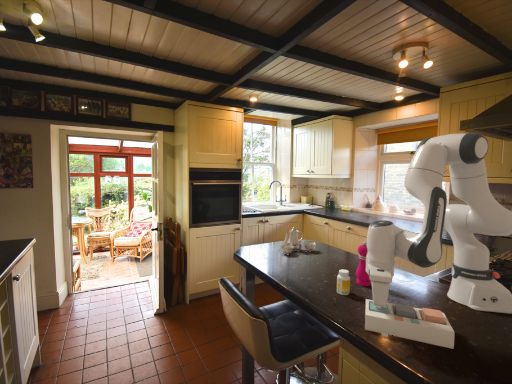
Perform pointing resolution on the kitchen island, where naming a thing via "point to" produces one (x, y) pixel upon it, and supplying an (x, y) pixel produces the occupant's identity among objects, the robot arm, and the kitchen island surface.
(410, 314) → the slate key
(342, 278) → the supplement bottle
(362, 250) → the pepper mill
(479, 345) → the kitchen island surface
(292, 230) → the chinaware
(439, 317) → the terracotta key
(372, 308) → the teal key
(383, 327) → the three-slot colour tray
